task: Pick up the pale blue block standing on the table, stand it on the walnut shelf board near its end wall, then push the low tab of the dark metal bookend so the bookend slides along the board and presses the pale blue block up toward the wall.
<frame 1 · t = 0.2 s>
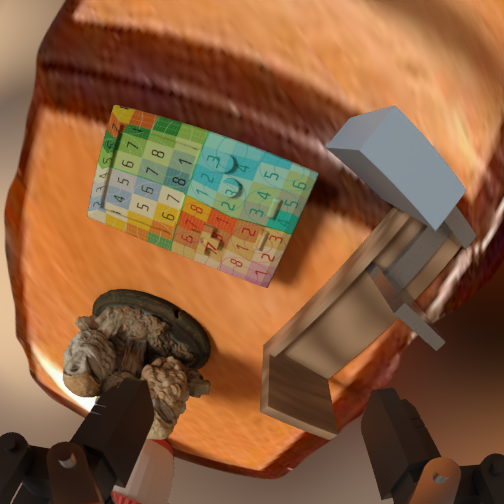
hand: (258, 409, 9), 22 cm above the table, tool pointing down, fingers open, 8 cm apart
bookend: (438, 265, 23), point 6 cm above the table, slide at 0.0 cm
puzzle game: (198, 187, 29), on the table
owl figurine: (153, 330, 35), on the table
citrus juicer: (149, 442, 47), on the table
shelf: (369, 291, 31), on the table
pale blue block: (367, 159, 26), on the table
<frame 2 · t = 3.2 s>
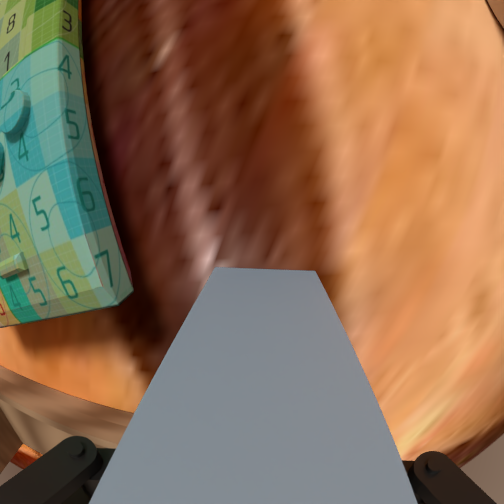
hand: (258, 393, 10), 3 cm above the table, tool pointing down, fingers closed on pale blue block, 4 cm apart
puzzle game: (27, 119, 11), on the table
shelf: (111, 447, 15), on the table
pale blue block: (261, 353, 12), on the table, touching gripper
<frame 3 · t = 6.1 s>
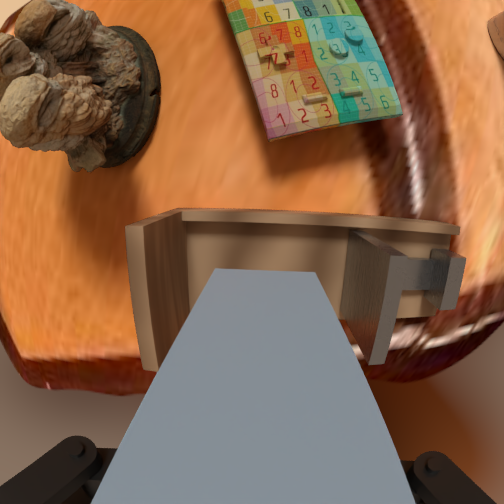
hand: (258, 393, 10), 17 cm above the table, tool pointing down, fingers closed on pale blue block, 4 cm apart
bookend: (420, 289, 20), point 6 cm above the table, slide at 0.0 cm
puzzle game: (297, 40, 22), on the table
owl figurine: (110, 95, 24), on the table
shelf: (321, 265, 26), on the table
pale blue block: (261, 354, 12), point 15 cm above the table, touching gripper
when the fingers open (5 cm above the table, at t = 9.0 s): pale blue block stays where it is, resting on shelf.
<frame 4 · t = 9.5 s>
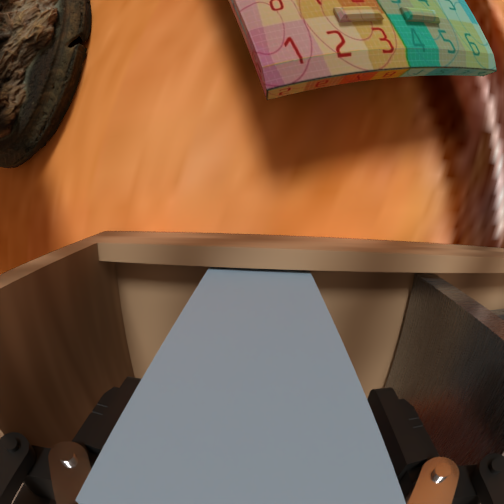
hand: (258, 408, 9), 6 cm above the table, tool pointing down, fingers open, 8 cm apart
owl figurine: (29, 61, 11), on the table
shelf: (357, 331, 14), on the table
pale blue block: (256, 341, 13), point 1 cm above the table, touching shelf
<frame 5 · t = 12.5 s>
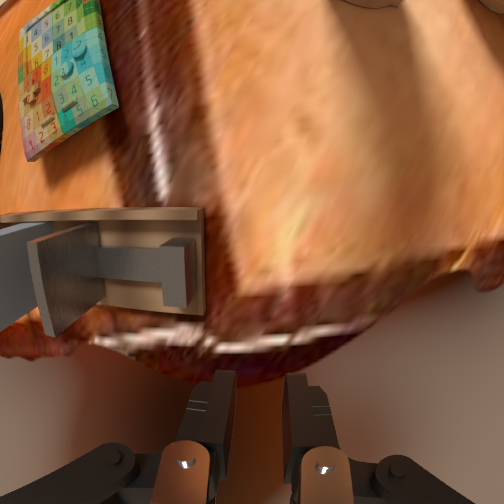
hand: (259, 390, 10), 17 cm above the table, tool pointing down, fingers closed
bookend: (116, 278, 21), point 6 cm above the table, slide at 0.0 cm
puzzle game: (73, 66, 23), on the table
shelf: (85, 255, 27), on the table
pale blue block: (45, 255, 26), point 1 cm above the table, touching shelf
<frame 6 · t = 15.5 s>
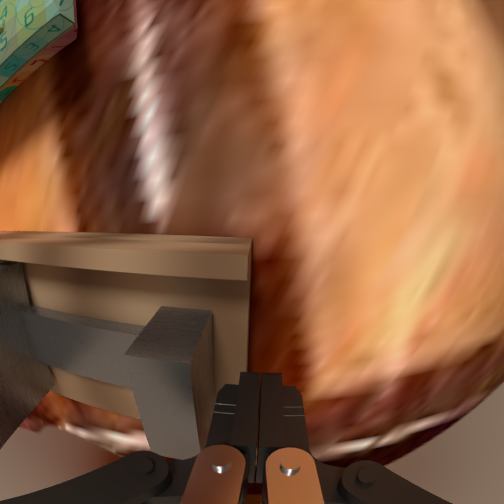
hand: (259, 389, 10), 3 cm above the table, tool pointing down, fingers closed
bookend: (46, 404, 7), point 6 cm above the table, slide at 0.9 cm, touching gripper
puzzle game: (26, 1, 8), on the table
shelf: (27, 312, 13), on the table
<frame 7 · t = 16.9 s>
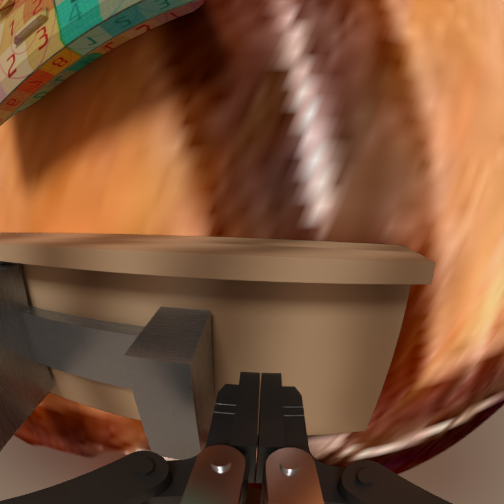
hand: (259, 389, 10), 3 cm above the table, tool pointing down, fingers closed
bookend: (46, 405, 7), point 6 cm above the table, slide at 7.5 cm, touching pale blue block, gripper
shelf: (110, 331, 13), on the table
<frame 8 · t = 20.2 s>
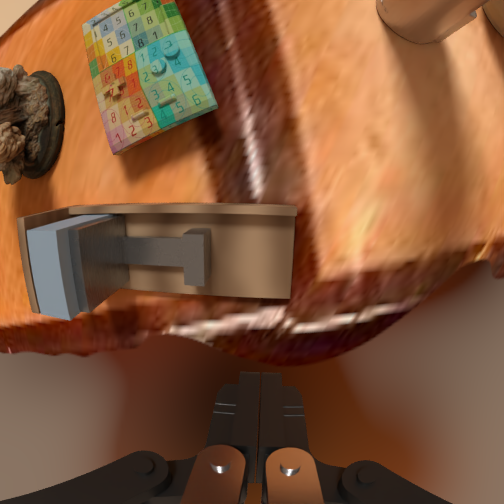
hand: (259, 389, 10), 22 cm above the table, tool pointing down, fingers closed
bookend: (145, 261, 26), point 6 cm above the table, slide at 8.1 cm, touching pale blue block
puzzle game: (149, 65, 27), on the table
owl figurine: (38, 124, 29), on the table
planter bowl: (499, 21, 20), on the table
shelf: (170, 247, 32), on the table
pale blue block: (104, 247, 31), point 1 cm above the table, touching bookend, shelf
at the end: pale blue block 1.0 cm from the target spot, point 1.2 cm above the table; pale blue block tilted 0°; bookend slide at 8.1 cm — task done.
